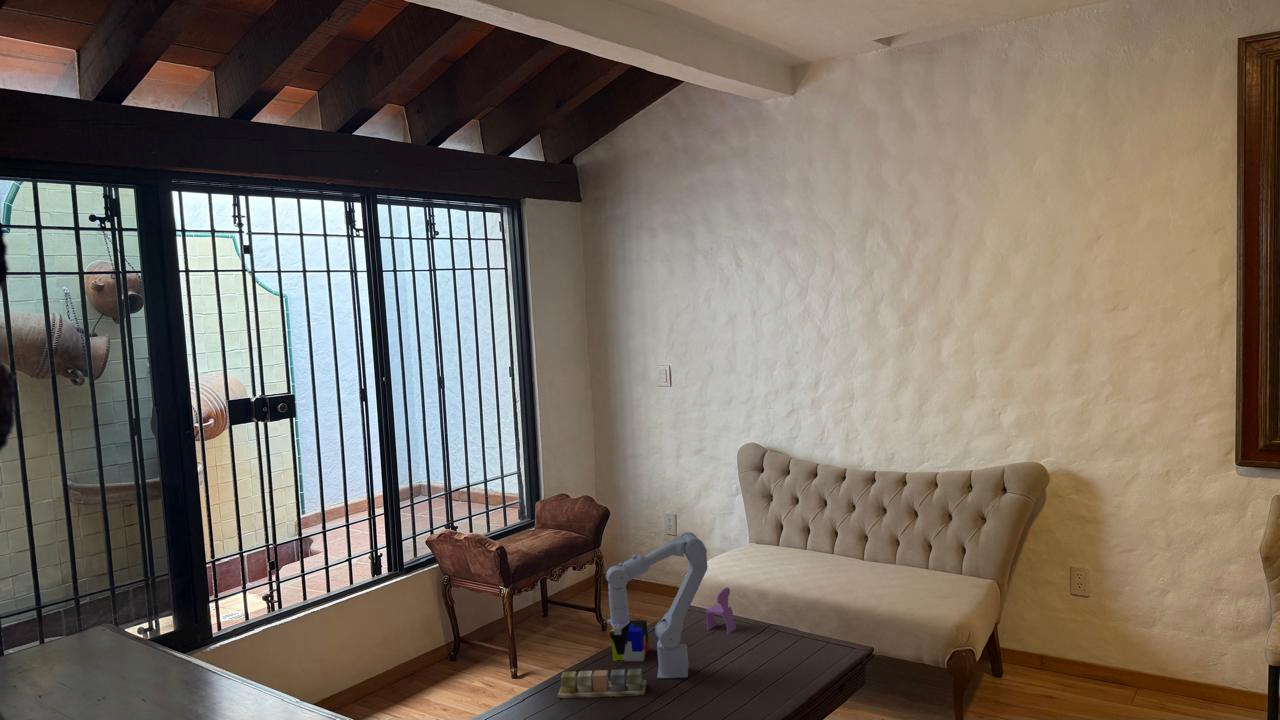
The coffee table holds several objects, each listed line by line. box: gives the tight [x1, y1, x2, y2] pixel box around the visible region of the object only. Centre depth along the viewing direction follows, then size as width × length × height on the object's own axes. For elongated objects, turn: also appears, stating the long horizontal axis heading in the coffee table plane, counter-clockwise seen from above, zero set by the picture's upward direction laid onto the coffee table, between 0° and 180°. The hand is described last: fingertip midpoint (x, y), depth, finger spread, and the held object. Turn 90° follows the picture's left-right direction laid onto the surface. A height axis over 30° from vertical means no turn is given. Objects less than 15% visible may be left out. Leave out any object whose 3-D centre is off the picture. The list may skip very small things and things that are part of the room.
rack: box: [557, 668, 647, 699], centre depth 267 cm, size 26×8×6 cm, turn 85°
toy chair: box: [705, 586, 738, 635], centre depth 310 cm, size 8×9×15 cm
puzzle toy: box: [610, 619, 650, 662], centre depth 293 cm, size 10×10×10 cm
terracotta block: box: [593, 669, 609, 692], centre depth 267 cm, size 4×4×5 cm
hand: (622, 649), depth 273 cm, fingers open, 7 cm apart
